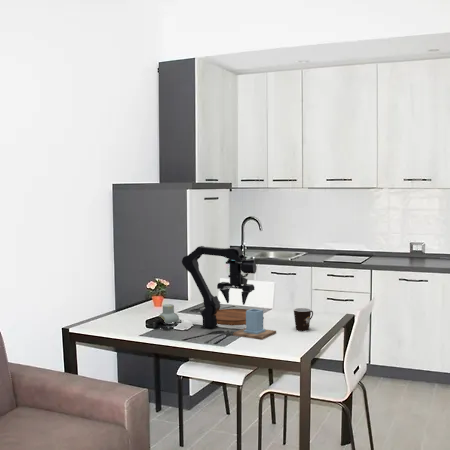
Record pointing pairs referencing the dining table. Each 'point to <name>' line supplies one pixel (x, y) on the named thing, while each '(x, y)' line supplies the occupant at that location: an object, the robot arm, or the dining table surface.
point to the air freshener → (169, 314)
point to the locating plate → (258, 336)
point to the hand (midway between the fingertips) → (235, 303)
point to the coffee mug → (302, 318)
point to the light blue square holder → (254, 321)
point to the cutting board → (231, 316)
